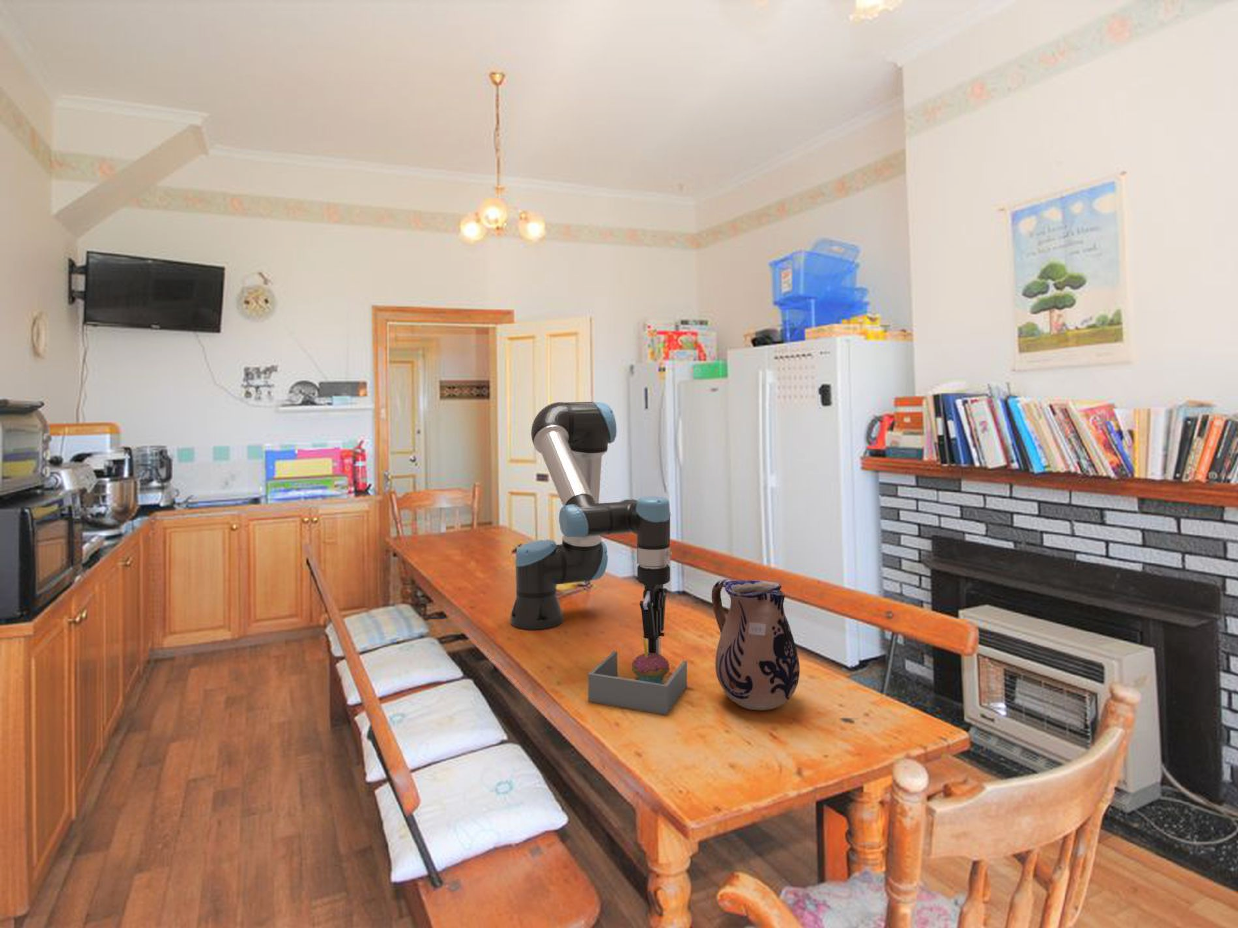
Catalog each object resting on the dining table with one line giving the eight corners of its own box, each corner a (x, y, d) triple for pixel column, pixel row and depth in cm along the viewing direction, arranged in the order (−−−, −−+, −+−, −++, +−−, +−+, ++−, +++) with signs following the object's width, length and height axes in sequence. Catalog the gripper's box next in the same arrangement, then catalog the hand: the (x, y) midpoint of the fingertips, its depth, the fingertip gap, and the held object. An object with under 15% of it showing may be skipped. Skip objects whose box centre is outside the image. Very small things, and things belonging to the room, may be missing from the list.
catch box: (588, 701, 144) (588, 674, 143) (614, 675, 157) (614, 650, 157) (667, 714, 137) (667, 686, 137) (686, 687, 151) (687, 661, 150)
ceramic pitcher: (773, 729, 131) (775, 603, 129) (685, 698, 145) (685, 584, 143) (813, 700, 144) (815, 585, 142) (729, 674, 158) (730, 569, 156)
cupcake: (648, 696, 146) (648, 642, 145) (623, 684, 153) (623, 632, 152) (677, 686, 151) (677, 634, 150) (652, 674, 158) (651, 624, 157)
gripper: (660, 572, 147) (661, 677, 149) (677, 559, 159) (677, 656, 161) (628, 570, 150) (629, 672, 152) (647, 557, 162) (648, 653, 164)
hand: (654, 664), depth 156 cm, fingers closed
